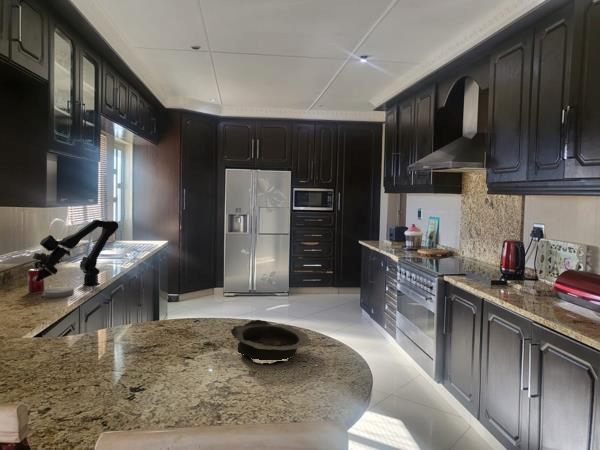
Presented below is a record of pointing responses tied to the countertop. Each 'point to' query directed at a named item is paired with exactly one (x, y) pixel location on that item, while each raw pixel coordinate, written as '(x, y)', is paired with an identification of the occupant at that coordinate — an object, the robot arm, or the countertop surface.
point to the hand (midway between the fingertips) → (33, 280)
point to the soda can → (32, 284)
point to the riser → (59, 292)
